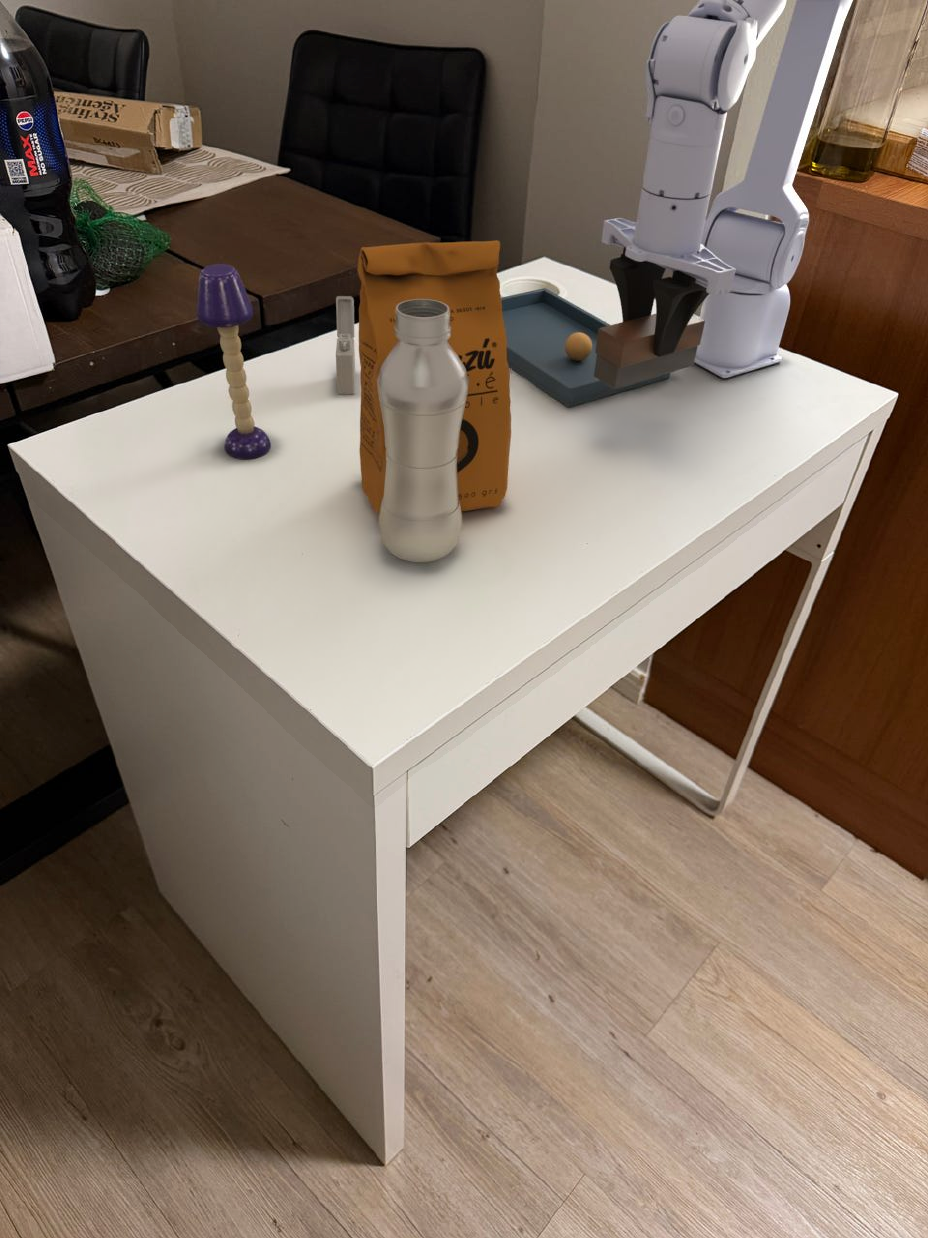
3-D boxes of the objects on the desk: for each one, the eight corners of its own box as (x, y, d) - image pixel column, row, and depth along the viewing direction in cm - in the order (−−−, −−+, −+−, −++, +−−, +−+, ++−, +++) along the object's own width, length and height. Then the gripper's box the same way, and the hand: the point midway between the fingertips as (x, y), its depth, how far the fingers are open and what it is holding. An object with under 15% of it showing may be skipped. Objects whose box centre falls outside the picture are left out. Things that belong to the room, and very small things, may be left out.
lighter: (354, 394, 95) (351, 319, 90) (337, 394, 95) (333, 319, 90) (356, 364, 101) (353, 291, 95) (340, 363, 100) (336, 291, 95)
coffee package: (514, 522, 79) (537, 263, 64) (369, 534, 77) (360, 269, 62) (489, 461, 86) (505, 217, 72) (356, 471, 84) (345, 221, 70)
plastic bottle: (378, 528, 77) (371, 290, 65) (458, 526, 78) (467, 291, 65) (379, 574, 72) (372, 326, 60) (465, 571, 73) (476, 326, 60)
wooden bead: (578, 351, 104) (582, 325, 102) (595, 361, 102) (599, 335, 100) (557, 357, 103) (560, 331, 101) (574, 367, 101) (577, 341, 99)
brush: (670, 352, 90) (679, 307, 87) (695, 366, 88) (705, 320, 85) (591, 375, 86) (598, 327, 83) (616, 390, 84) (623, 342, 81)
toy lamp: (226, 464, 84) (199, 282, 73) (212, 440, 87) (184, 263, 76) (277, 453, 86) (257, 274, 75) (261, 430, 89) (240, 255, 78)
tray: (543, 304, 116) (545, 287, 114) (669, 377, 101) (673, 359, 100) (448, 325, 109) (448, 308, 108) (567, 407, 95) (570, 388, 94)
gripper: (583, 172, 79) (566, 324, 88) (703, 221, 70) (670, 385, 79) (645, 162, 82) (622, 310, 91) (767, 208, 73) (729, 368, 82)
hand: (648, 344), depth 85 cm, fingers closed on brush, 3 cm apart
